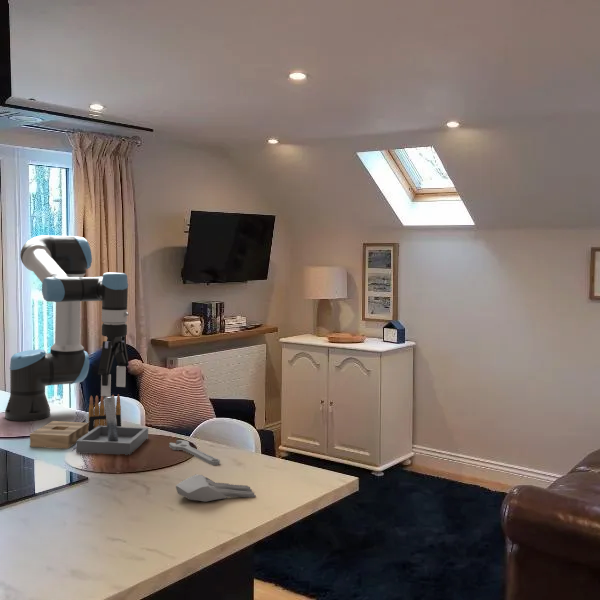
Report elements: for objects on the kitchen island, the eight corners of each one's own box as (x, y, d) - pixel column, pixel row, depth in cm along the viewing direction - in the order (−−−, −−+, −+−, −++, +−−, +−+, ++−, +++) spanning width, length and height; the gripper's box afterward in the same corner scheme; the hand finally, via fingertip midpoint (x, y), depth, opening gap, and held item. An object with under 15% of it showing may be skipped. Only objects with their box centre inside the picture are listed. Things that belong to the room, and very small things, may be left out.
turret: (255, 509, 176) (259, 490, 176) (176, 503, 170) (180, 484, 170) (246, 495, 185) (249, 477, 185) (171, 489, 179) (174, 471, 179)
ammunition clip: (88, 431, 235) (88, 396, 234) (87, 430, 236) (88, 395, 235) (121, 429, 239) (121, 394, 238) (120, 428, 241) (120, 393, 240)
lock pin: (110, 441, 222) (106, 396, 221) (119, 440, 221) (115, 396, 221) (107, 443, 219) (102, 398, 218) (116, 442, 218) (111, 397, 218)
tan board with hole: (52, 433, 232) (52, 421, 232) (88, 434, 231) (88, 422, 231) (30, 446, 216) (30, 433, 216) (68, 448, 215) (68, 435, 215)
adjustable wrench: (221, 466, 204) (221, 460, 204) (201, 469, 200) (201, 463, 200) (184, 444, 225) (184, 438, 224) (165, 447, 221) (165, 441, 221)
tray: (98, 436, 230) (98, 425, 230) (148, 438, 228) (148, 427, 228) (76, 452, 211) (76, 440, 211) (129, 455, 210) (129, 443, 210)
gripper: (112, 328, 204) (111, 400, 206) (139, 319, 229) (137, 383, 231) (87, 327, 205) (86, 399, 207) (116, 318, 230) (115, 382, 232)
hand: (113, 391), depth 219 cm, fingers open, 13 cm apart
